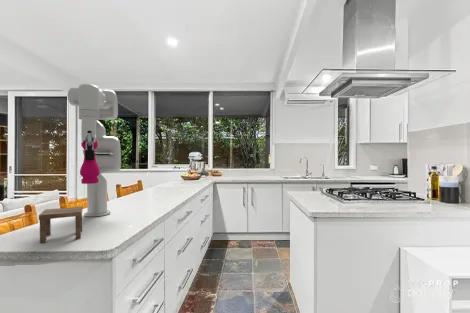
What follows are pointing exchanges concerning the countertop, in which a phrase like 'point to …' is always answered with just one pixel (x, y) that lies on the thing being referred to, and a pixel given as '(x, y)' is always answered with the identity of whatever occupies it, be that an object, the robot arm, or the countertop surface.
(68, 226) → the countertop surface
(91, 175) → the pepper mill
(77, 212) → the walnut stool
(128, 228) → the countertop surface
